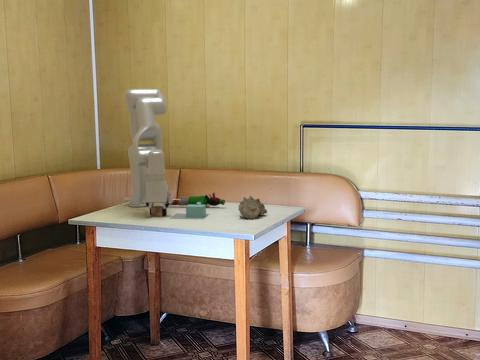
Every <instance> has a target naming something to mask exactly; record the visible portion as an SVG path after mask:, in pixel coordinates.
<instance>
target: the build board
mask: <svg viewBox="0 0 480 360" xmlns="http://www.w3.org/2000/svg"><path fill="white" fill-rule="evenodd" d="M208 216H210V213H206V216H205V217H203V218H199V217H186V213H176V214H174V215H172V216H171V217H170V218H169V220H170V219H171V220H204V219H206V218H207V217H208Z"/></svg>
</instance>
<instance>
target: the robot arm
mask: <svg viewBox="0 0 480 360" xmlns="http://www.w3.org/2000/svg"><path fill="white" fill-rule="evenodd" d="M124 102H125V106H126V108H127V112H128V116H129V134H130V135H129V136H130V139H131V140H132V144H131V145H130V146H129V147H128V148H127V154H128V156H127V157H128V162H129V168H130V186H131V189H130V190H131V196H130V197H129V196H125V197H124V201H125V202H129V203H128V206H129V207H133V208H144V207H145V208H146V207H148V210H149V216H151V208H152V207H153V206H155V205H154V204H161V206H163V209H162V215H163V217H165V216H167V215H168V214H167V211H168V209H167V208H168V207H169V206H171V205H170V204H171V203H172V202H173V200H174V199H173V198H172V197H170V196H171V195H170V196H169V194H170V191H169V185H168V181H167V180H166V169H165V167H166V166H165V153H164V151H163V133H162V127H161V125H160V124H159V122H157V120H156V116H159V115H161V116H162V115H165V113H166V112H167V103H166V99H165V97H164V95H163V94H162V92H161V91H160V90H159V89H158V88H130V89H127V90H126V91H125V93H124ZM139 142H151V143H139ZM168 200H169V202H168V203H166V201H168ZM163 217H162V218H163Z"/></svg>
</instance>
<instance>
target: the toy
mask: <svg viewBox="0 0 480 360" xmlns="http://www.w3.org/2000/svg"><path fill="white" fill-rule="evenodd" d="M169 196H170V197H171V193H169ZM171 198H172V197H171ZM168 202H169V200H168V201H166V203H168ZM189 204H191V205H206V208H208V206H209V207H216V206H219V205H222V206H225V204H226V199H222V198H219V197H216V193H215V192H212V194H205V195H197V196H188V197H187V198H180V199H173V202H172V203H171V204H170V205H169V206H183V207H184V206H185V207H186V206H187V205H189ZM182 213H186V208H184V209H183V210H182Z"/></svg>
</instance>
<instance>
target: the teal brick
mask: <svg viewBox="0 0 480 360" xmlns="http://www.w3.org/2000/svg"><path fill="white" fill-rule="evenodd" d="M206 208H207V207H206V205H191V204H189V205H187V206H185V209H186V212H185V214H186V217H199V218H203V217H205V216H206V214H207V209H206Z"/></svg>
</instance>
